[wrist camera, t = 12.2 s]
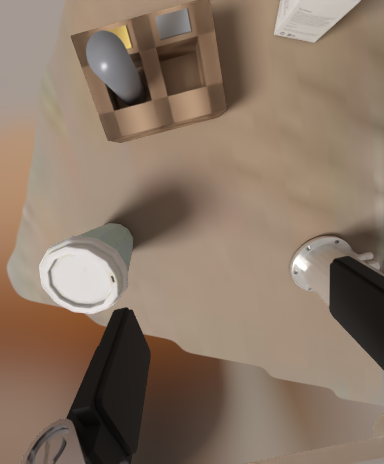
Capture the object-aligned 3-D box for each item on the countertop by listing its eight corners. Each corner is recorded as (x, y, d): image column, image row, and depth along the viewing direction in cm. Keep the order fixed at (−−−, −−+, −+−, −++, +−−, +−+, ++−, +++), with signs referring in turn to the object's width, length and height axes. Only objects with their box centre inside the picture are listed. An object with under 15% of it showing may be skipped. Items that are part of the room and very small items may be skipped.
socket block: (203, 25, 28) (209, -9, 22) (218, 117, 32) (227, 108, 26) (91, 56, 28) (68, 31, 23) (120, 142, 32) (107, 140, 27)
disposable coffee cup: (96, 266, 40) (51, 327, 26) (77, 214, 36) (11, 251, 22) (150, 258, 40) (133, 314, 26) (136, 204, 36) (108, 236, 22)
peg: (141, 73, 28) (119, 25, 17) (149, 103, 29) (133, 75, 19) (116, 80, 28) (79, 36, 18) (125, 109, 29) (96, 85, 19)
